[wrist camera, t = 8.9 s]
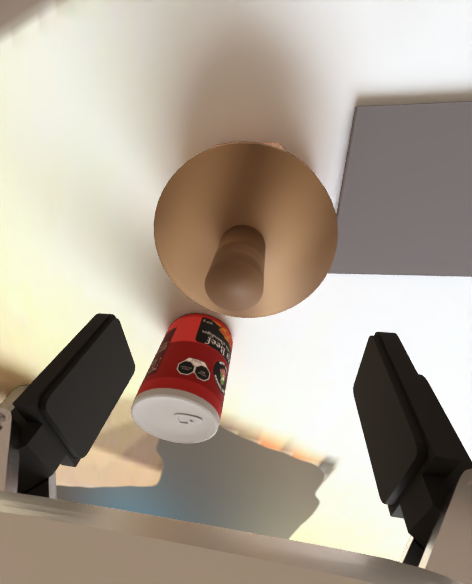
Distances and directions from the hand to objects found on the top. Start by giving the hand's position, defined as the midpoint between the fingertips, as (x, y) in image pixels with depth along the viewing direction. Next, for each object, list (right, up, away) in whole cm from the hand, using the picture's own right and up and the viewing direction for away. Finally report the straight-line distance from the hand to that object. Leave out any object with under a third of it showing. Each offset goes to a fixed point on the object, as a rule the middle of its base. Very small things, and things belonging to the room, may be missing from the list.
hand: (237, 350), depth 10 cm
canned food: (-4, -3, +23) cm, 23 cm away
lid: (+1, +6, +8) cm, 10 cm away
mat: (+15, +10, +11) cm, 21 cm away
